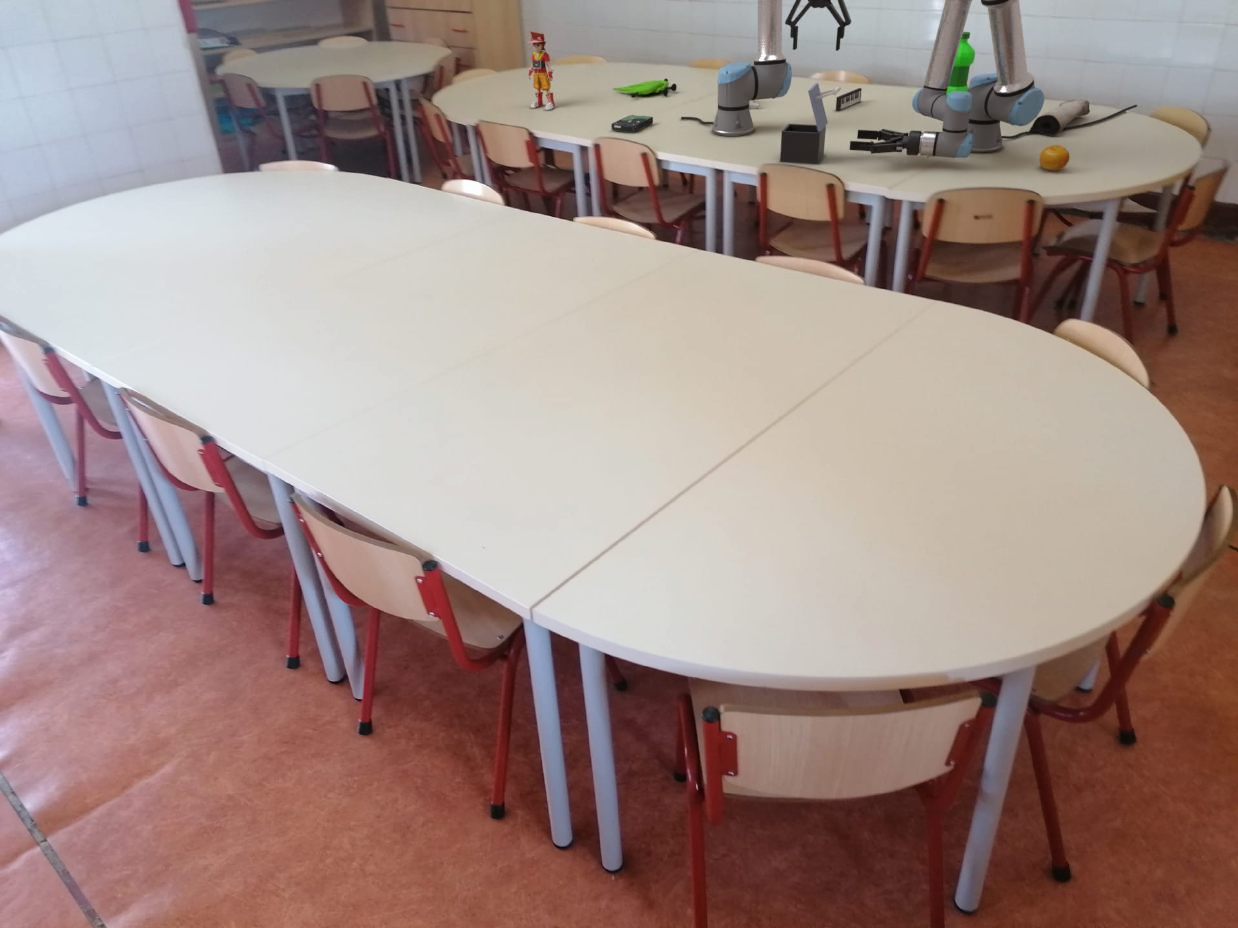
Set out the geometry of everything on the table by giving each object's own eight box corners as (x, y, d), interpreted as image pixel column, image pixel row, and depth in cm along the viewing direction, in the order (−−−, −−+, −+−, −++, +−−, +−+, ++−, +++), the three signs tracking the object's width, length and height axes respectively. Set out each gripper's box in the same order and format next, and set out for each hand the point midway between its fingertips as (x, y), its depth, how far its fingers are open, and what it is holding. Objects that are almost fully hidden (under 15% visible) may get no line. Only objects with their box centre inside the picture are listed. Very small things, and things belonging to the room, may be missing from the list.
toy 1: (525, 109, 381) (517, 32, 364) (534, 104, 388) (527, 28, 371) (550, 110, 377) (543, 32, 360) (559, 105, 384) (553, 28, 367)
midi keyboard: (838, 111, 353) (839, 97, 350) (835, 110, 353) (836, 97, 350) (860, 101, 363) (861, 88, 360) (857, 101, 364) (859, 88, 361)
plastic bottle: (973, 101, 354) (984, 32, 339) (955, 106, 349) (966, 36, 335) (952, 97, 361) (962, 29, 346) (934, 102, 356) (944, 33, 342)
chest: (780, 161, 303) (781, 131, 297) (787, 153, 310) (788, 123, 304) (817, 164, 298) (819, 133, 293) (823, 155, 306) (826, 125, 300)
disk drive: (634, 134, 341) (653, 123, 351) (633, 126, 339) (653, 116, 349) (611, 131, 346) (631, 121, 356) (610, 123, 344) (630, 114, 354)
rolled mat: (1057, 104, 331) (1081, 87, 323) (1070, 125, 332) (1095, 108, 324) (1024, 126, 314) (1049, 109, 306) (1039, 148, 314) (1064, 131, 306)
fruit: (1034, 160, 277) (1052, 137, 274) (1032, 163, 285) (1050, 140, 282) (1057, 176, 276) (1076, 152, 273) (1055, 178, 284) (1073, 155, 281)
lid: (807, 91, 287) (833, 83, 283) (814, 84, 294) (839, 76, 290) (818, 132, 293) (843, 124, 288) (824, 124, 300) (849, 116, 296)
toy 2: (686, 85, 398) (631, 84, 414) (685, 72, 395) (629, 72, 411) (651, 104, 381) (596, 103, 397) (650, 92, 378) (594, 91, 394)
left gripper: (777, -24, 273) (774, 51, 285) (860, -25, 265) (853, 52, 277) (783, -28, 279) (780, 46, 291) (865, -29, 270) (858, 48, 283)
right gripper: (913, 166, 280) (845, 162, 287) (924, 144, 299) (859, 141, 306) (917, 142, 276) (847, 138, 283) (927, 121, 295) (861, 118, 302)
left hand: (816, 49), depth 284 cm, fingers open, 13 cm apart
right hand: (853, 139), depth 295 cm, fingers open, 13 cm apart
